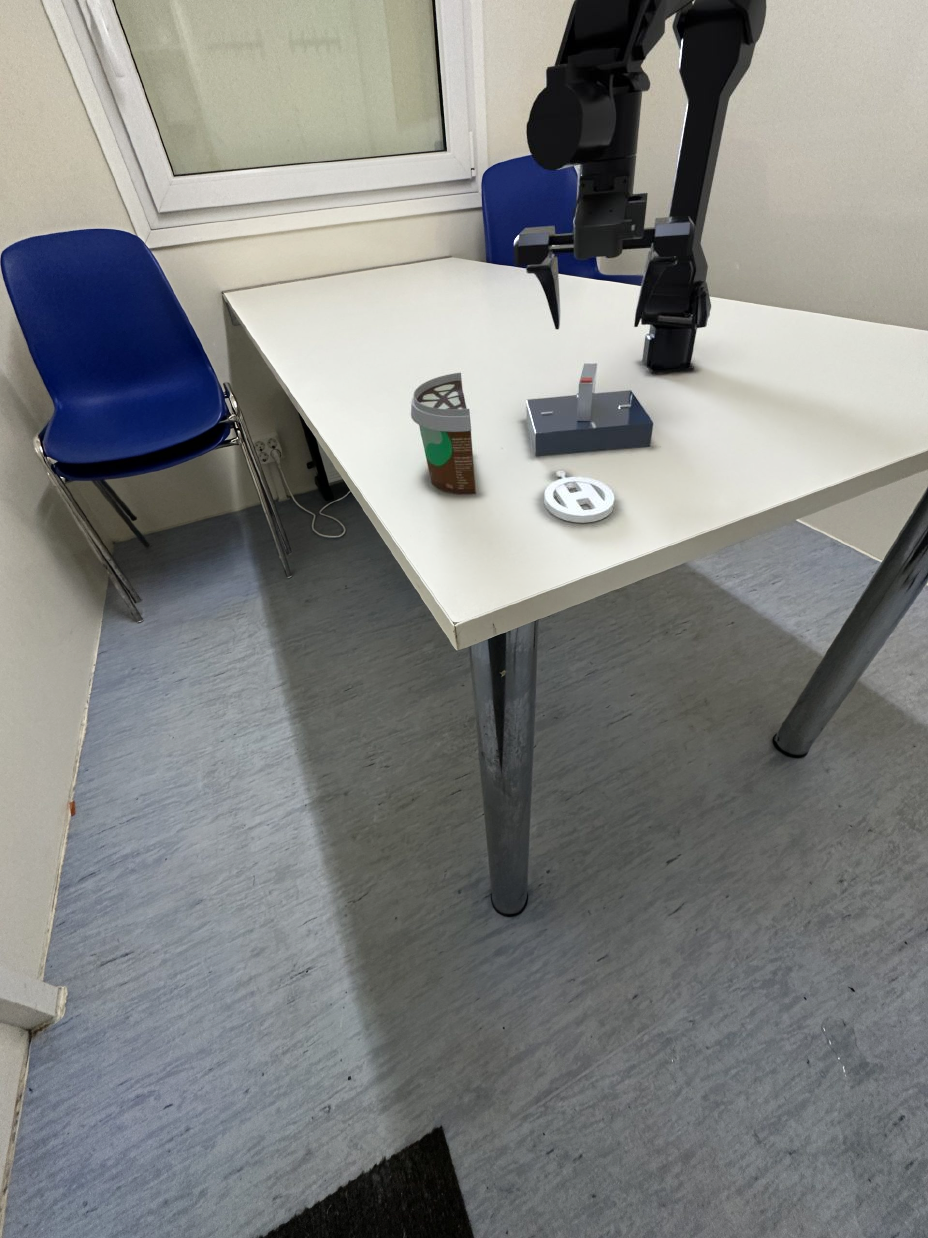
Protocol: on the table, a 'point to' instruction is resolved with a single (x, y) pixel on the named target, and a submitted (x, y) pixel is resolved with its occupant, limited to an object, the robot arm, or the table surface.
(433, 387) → the food container
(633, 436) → the tap base
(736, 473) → the table surface
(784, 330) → the table surface
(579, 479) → the pendant
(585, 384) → the gray bar
